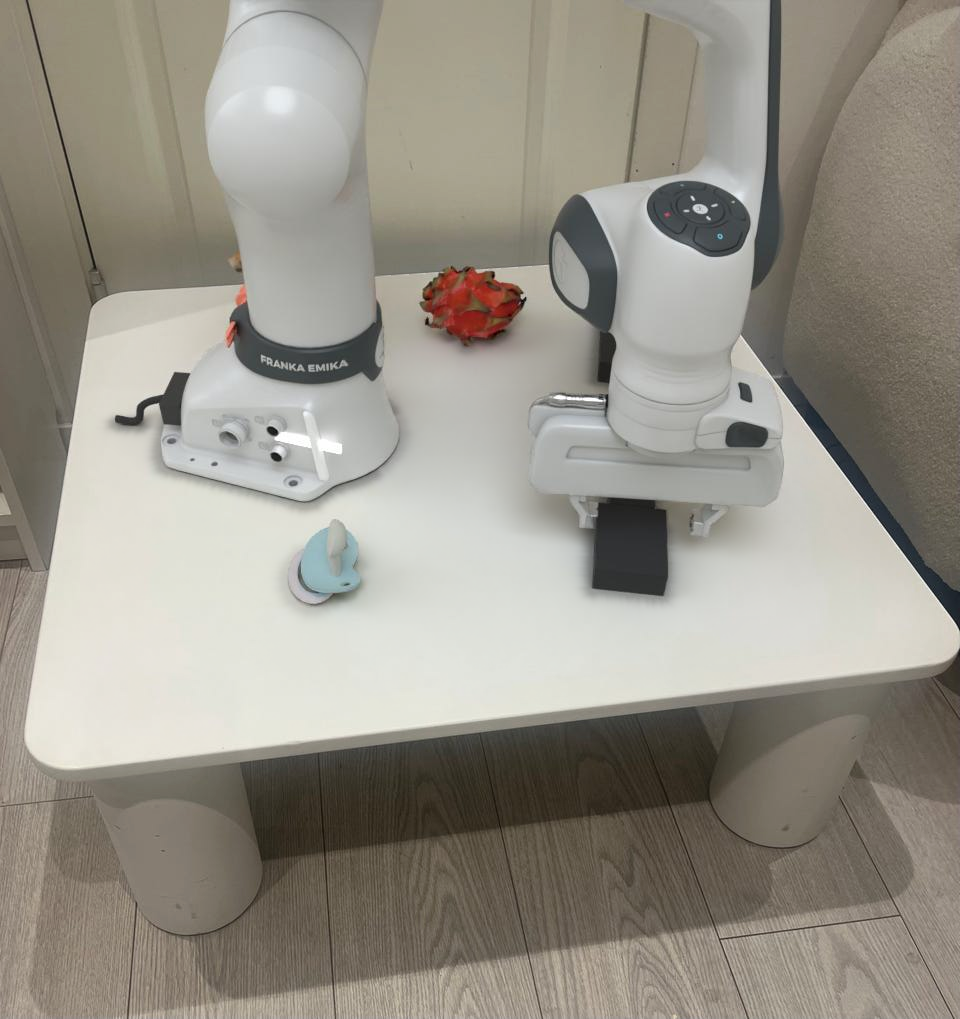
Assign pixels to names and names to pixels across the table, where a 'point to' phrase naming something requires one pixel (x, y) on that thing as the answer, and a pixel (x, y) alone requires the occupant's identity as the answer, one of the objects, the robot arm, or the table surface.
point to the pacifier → (325, 564)
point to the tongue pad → (631, 547)
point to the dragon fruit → (471, 303)
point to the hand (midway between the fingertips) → (642, 527)
